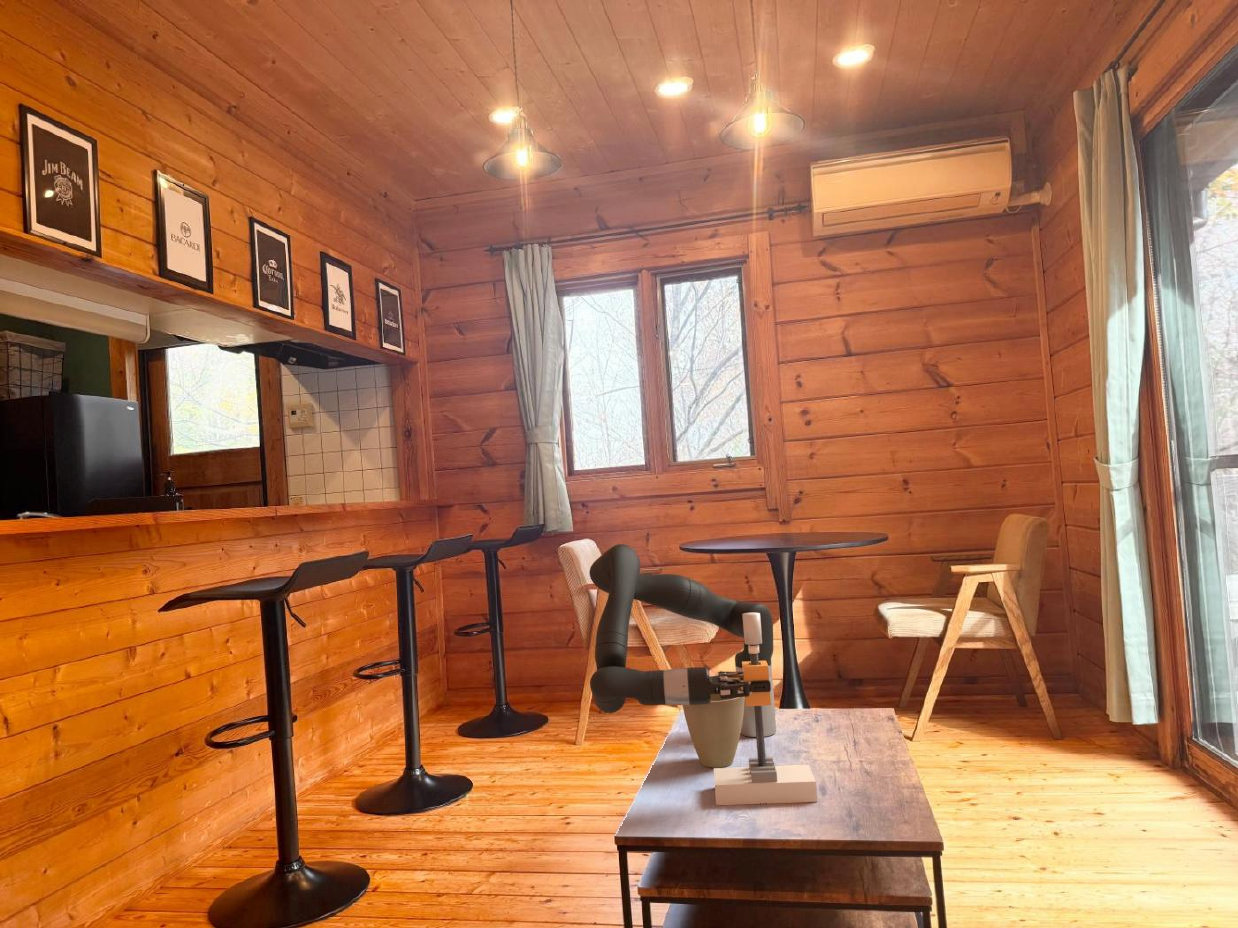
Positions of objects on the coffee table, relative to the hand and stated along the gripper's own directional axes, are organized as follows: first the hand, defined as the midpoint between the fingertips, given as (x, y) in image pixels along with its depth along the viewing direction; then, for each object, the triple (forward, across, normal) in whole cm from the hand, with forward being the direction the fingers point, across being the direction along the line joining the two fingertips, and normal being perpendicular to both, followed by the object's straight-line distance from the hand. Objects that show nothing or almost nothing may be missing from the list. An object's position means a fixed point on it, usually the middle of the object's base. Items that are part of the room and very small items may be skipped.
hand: (768, 682), depth 173 cm
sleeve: (-3, 0, +4) cm, 5 cm away
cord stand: (-3, 0, +23) cm, 23 cm away
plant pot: (-12, +21, +23) cm, 33 cm away
